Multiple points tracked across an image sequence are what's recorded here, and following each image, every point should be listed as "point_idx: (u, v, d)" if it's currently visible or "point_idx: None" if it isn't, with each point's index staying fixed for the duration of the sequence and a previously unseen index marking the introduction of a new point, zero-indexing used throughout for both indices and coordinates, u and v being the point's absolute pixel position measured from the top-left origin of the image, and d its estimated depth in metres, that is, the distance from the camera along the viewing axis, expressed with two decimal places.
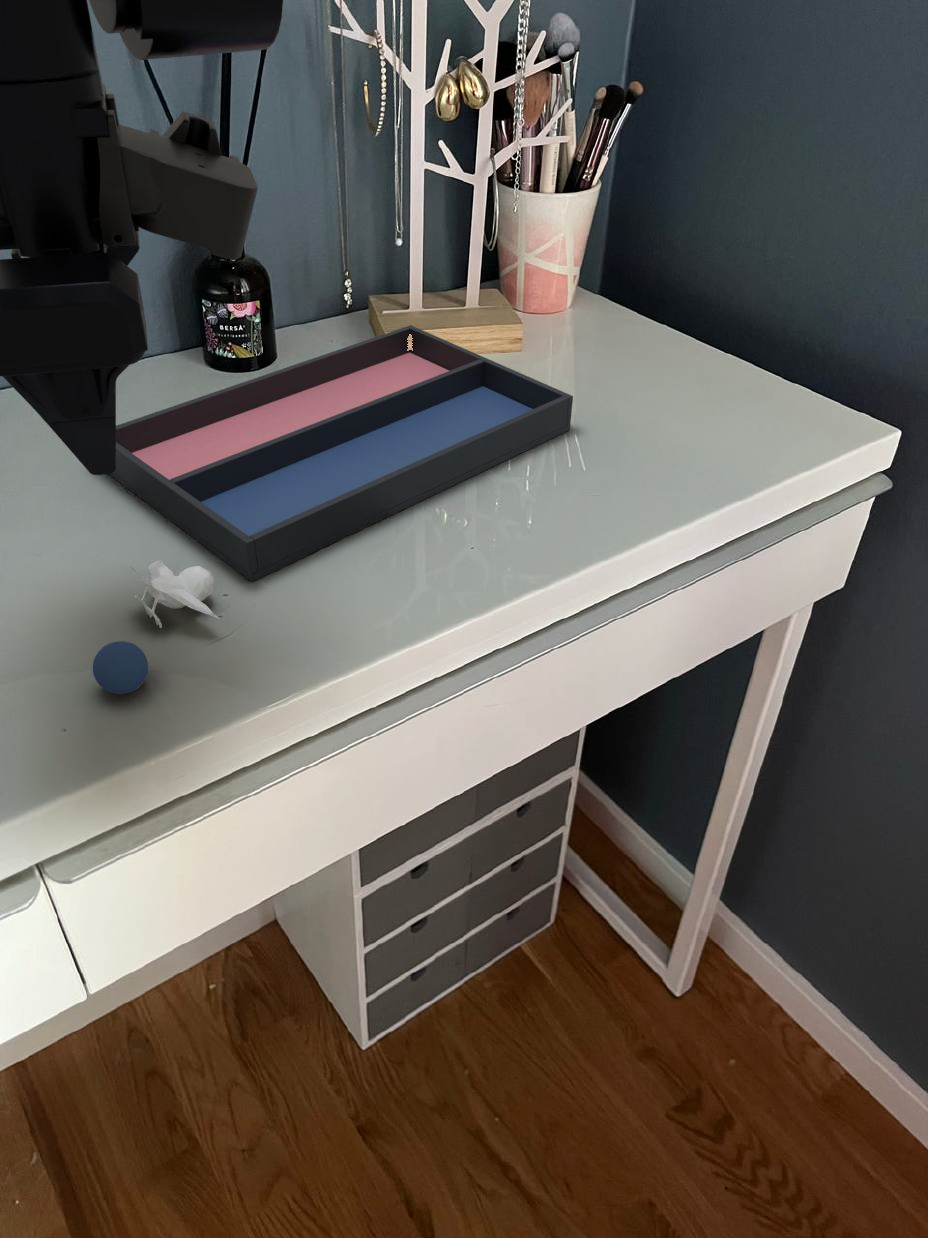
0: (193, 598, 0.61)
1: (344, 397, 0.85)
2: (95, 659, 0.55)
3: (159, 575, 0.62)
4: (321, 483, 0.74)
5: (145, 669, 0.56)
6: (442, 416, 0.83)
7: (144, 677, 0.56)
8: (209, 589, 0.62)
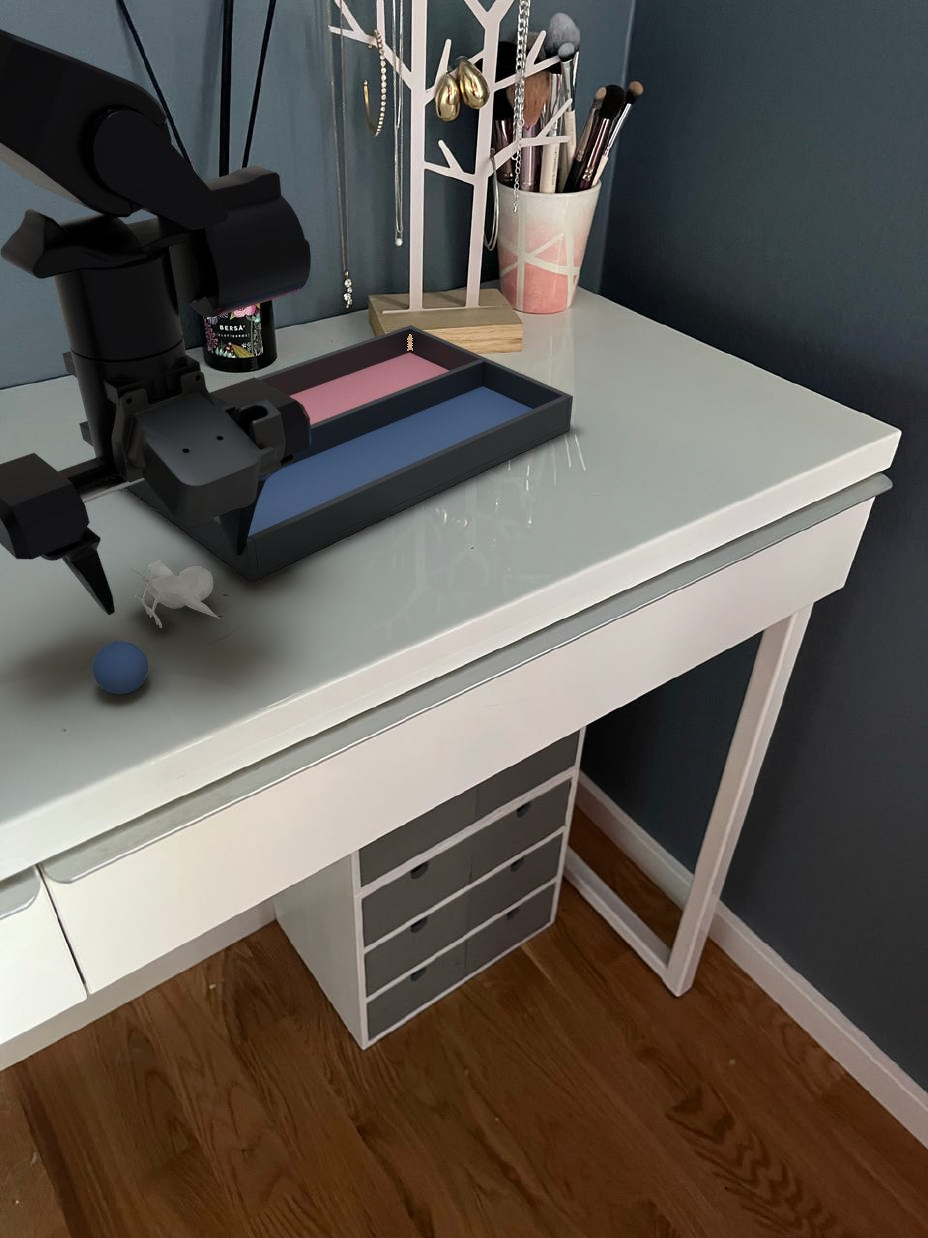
0: (193, 598, 0.61)
1: (344, 397, 0.85)
2: (95, 659, 0.55)
3: (159, 575, 0.62)
4: (321, 483, 0.74)
5: (145, 669, 0.56)
6: (442, 416, 0.83)
7: (144, 677, 0.56)
8: (209, 589, 0.62)
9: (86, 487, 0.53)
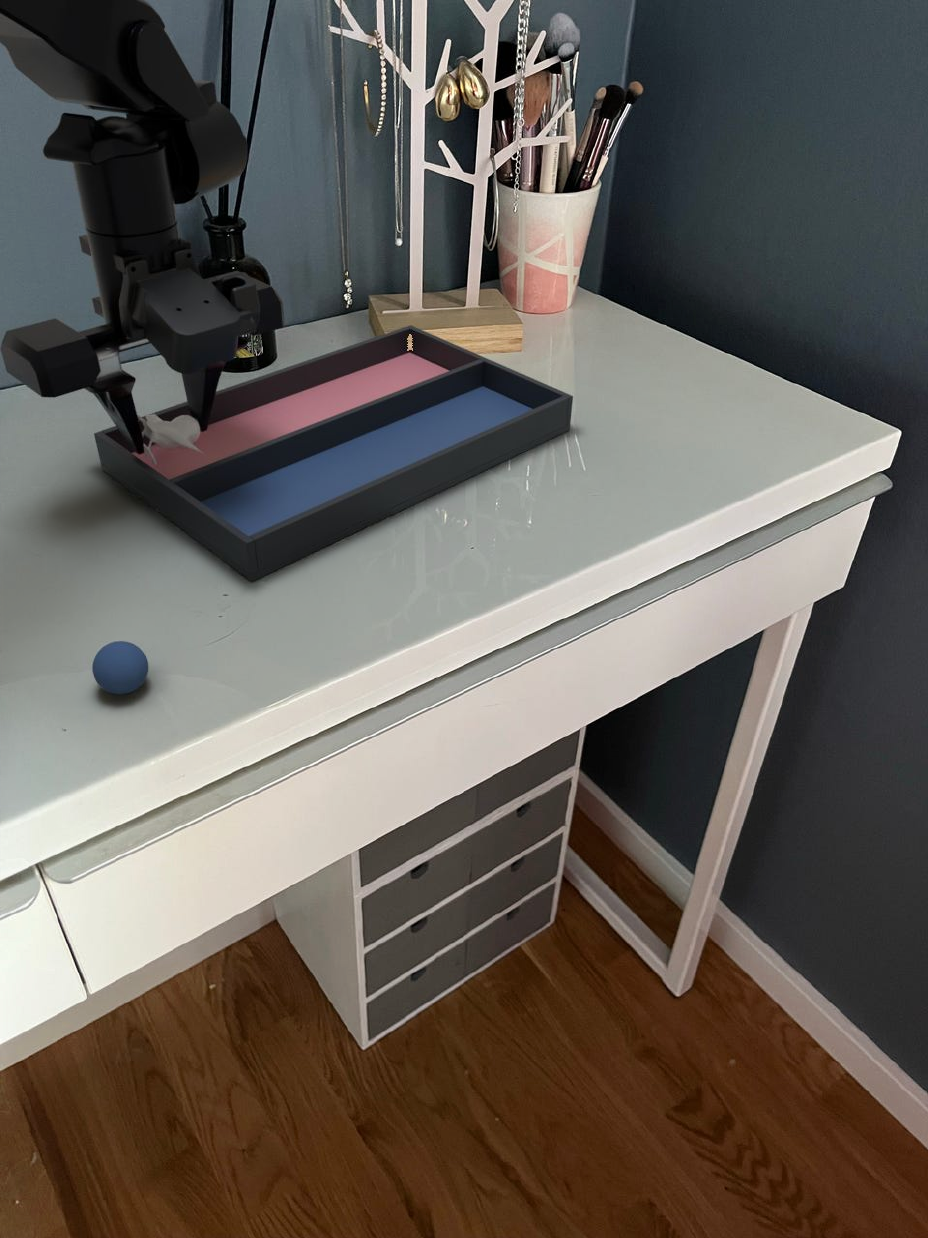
0: (183, 438, 0.72)
1: (344, 397, 0.85)
2: (95, 659, 0.55)
3: (154, 422, 0.73)
4: (321, 483, 0.74)
5: (145, 669, 0.56)
6: (442, 416, 0.83)
7: (144, 677, 0.56)
8: (196, 434, 0.73)
9: (97, 347, 0.66)
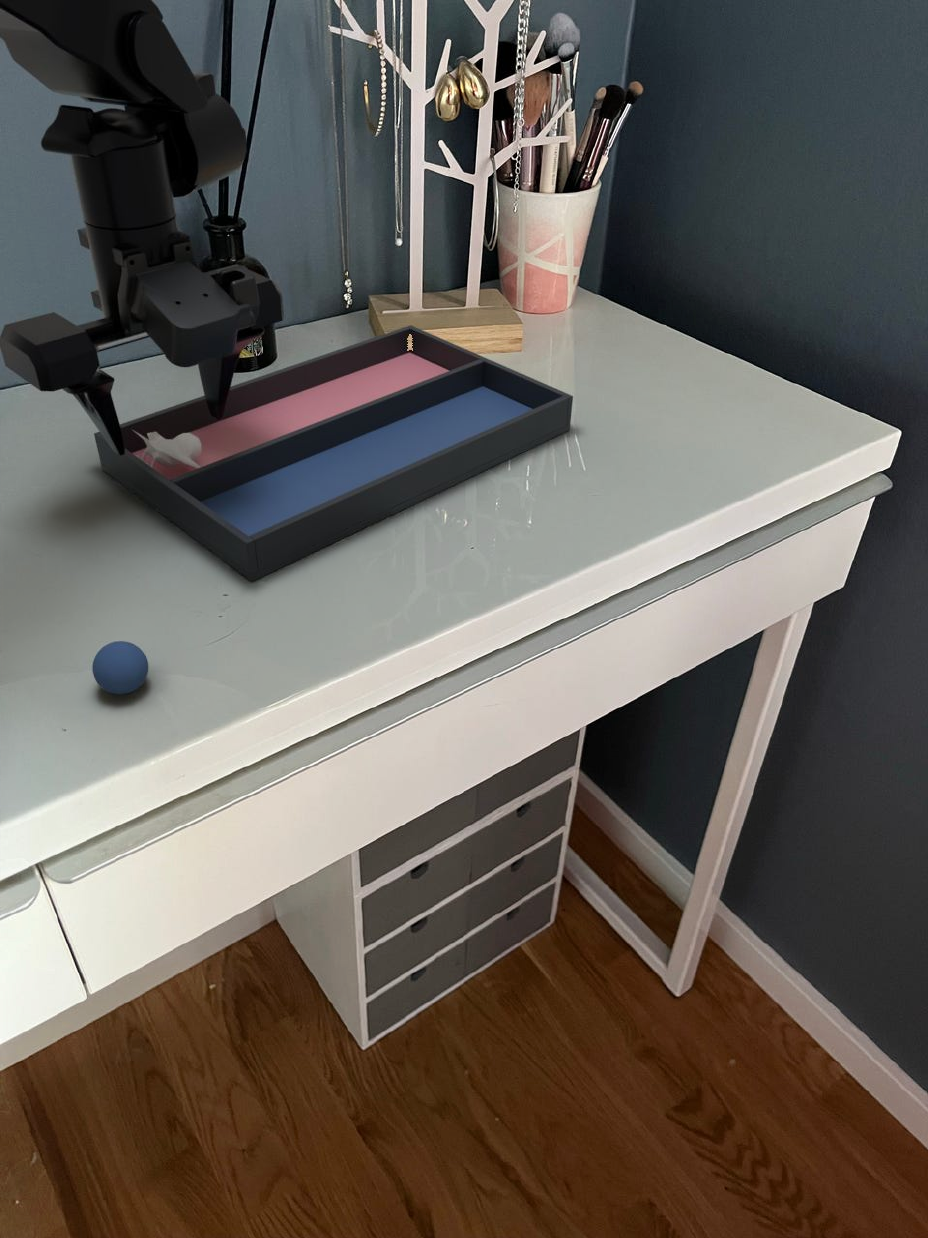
0: (185, 457, 0.73)
1: (344, 397, 0.85)
2: (95, 659, 0.55)
3: (156, 440, 0.74)
4: (321, 483, 0.74)
5: (145, 669, 0.56)
6: (442, 416, 0.83)
7: (144, 677, 0.56)
8: (198, 451, 0.74)
9: (96, 340, 0.65)
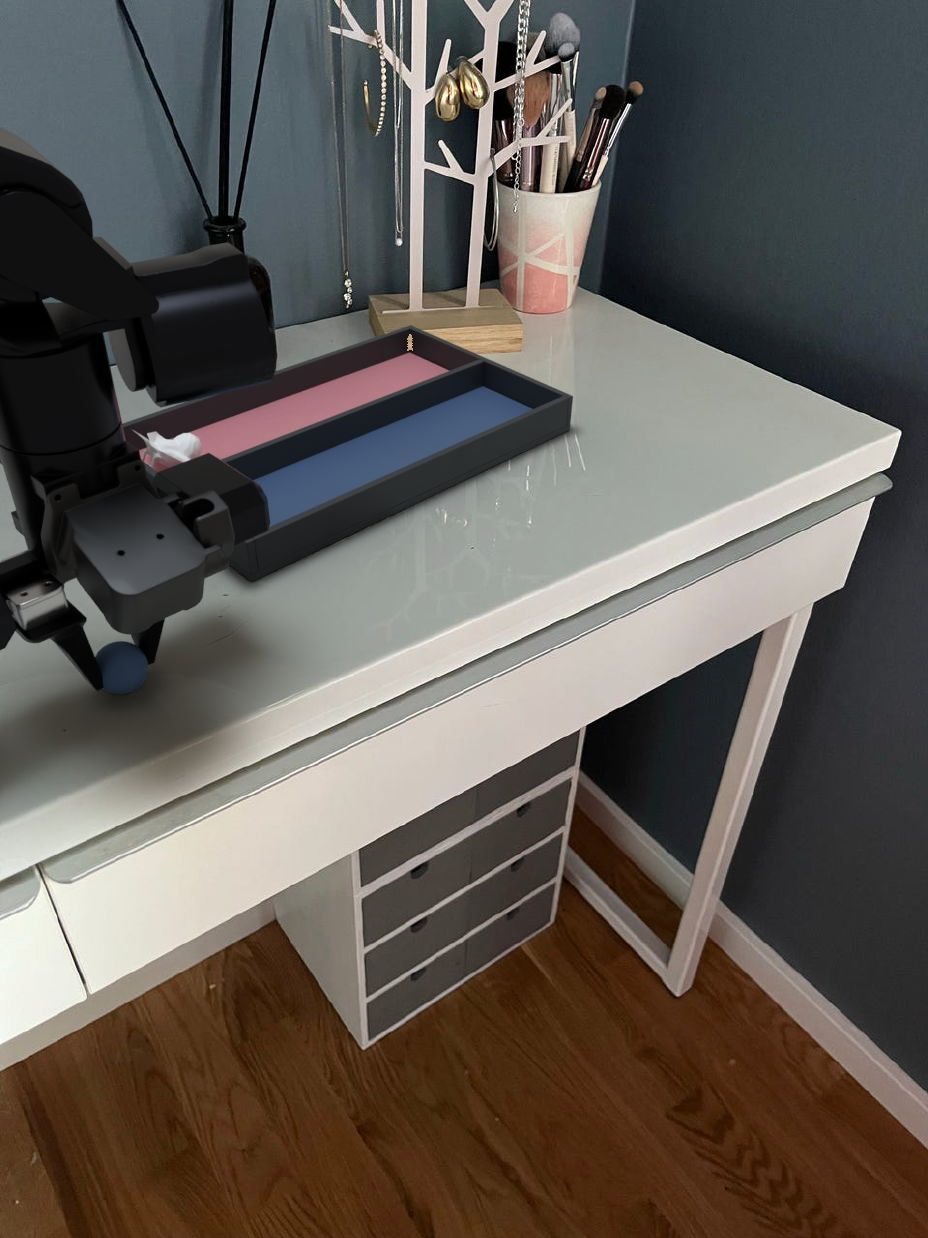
0: (185, 457, 0.73)
1: (344, 397, 0.85)
2: None
3: (156, 440, 0.74)
4: (321, 483, 0.74)
5: (145, 669, 0.56)
6: (442, 416, 0.83)
7: (144, 677, 0.56)
8: (198, 451, 0.74)
9: (16, 585, 0.49)
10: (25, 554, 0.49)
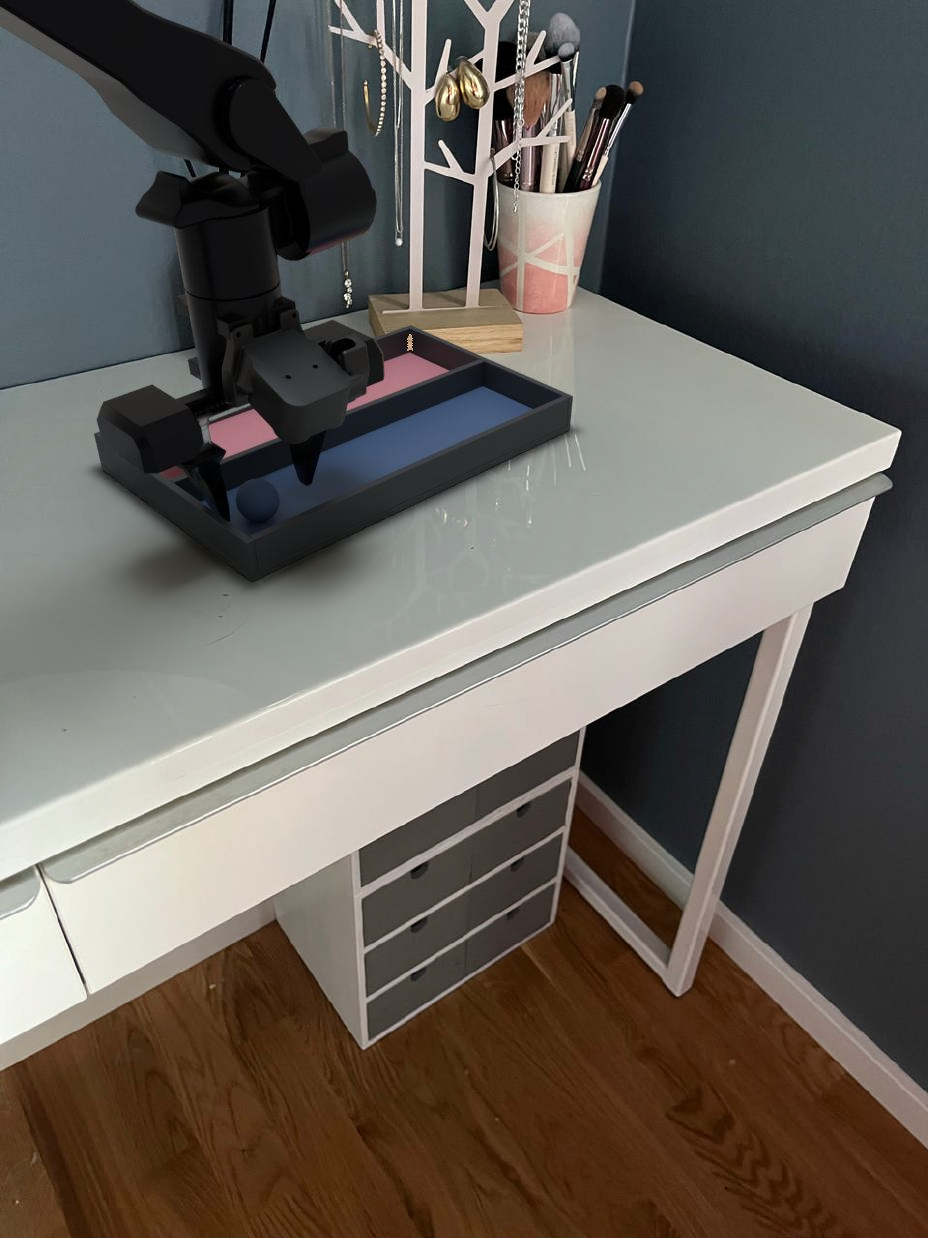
0: None
1: None
2: (240, 488, 0.68)
3: None
4: (321, 483, 0.74)
5: (278, 503, 0.69)
6: (442, 416, 0.83)
7: (276, 509, 0.69)
8: None
9: None
10: (203, 390, 0.62)
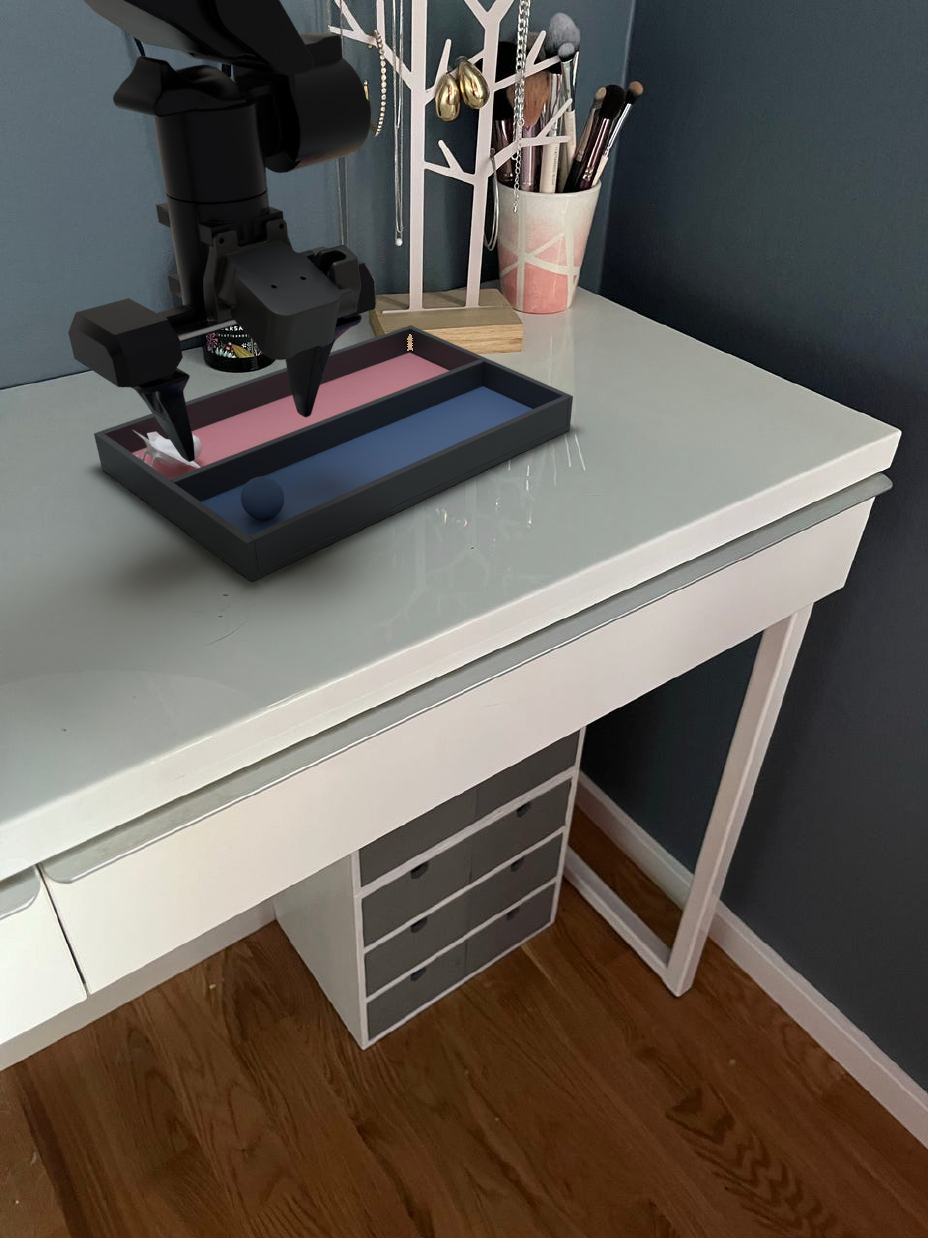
0: None
1: (344, 397, 0.85)
2: (249, 482, 0.68)
3: (156, 440, 0.74)
4: (321, 483, 0.74)
5: (283, 504, 0.69)
6: (442, 416, 0.83)
7: (279, 510, 0.69)
8: (198, 451, 0.74)
9: (176, 330, 0.58)
10: (183, 306, 0.58)
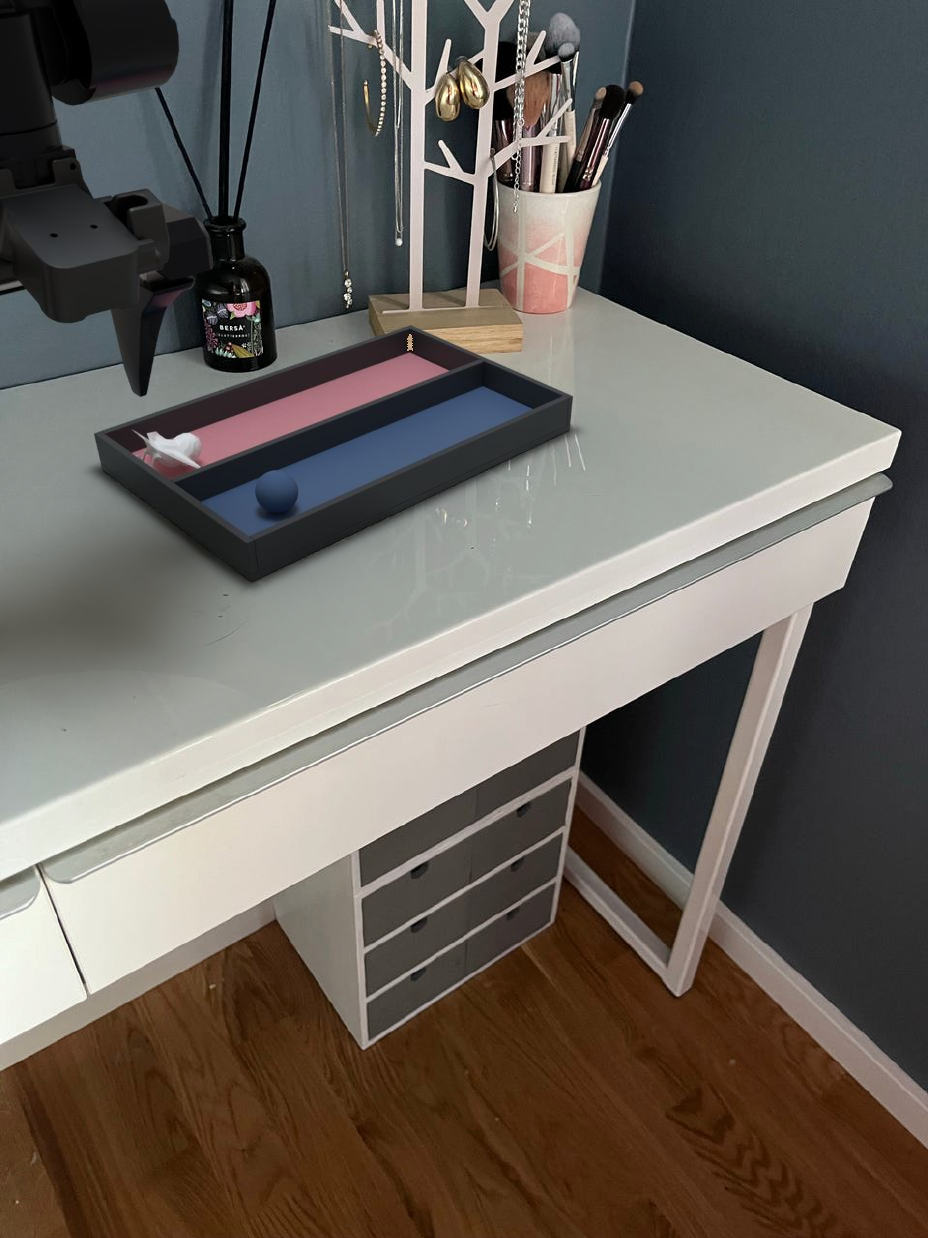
0: (185, 457, 0.73)
1: (344, 397, 0.85)
2: (276, 470, 0.70)
3: (156, 440, 0.74)
4: (321, 483, 0.74)
5: (292, 506, 0.70)
6: (442, 416, 0.83)
7: (287, 508, 0.70)
8: (198, 451, 0.74)
9: None
10: None
